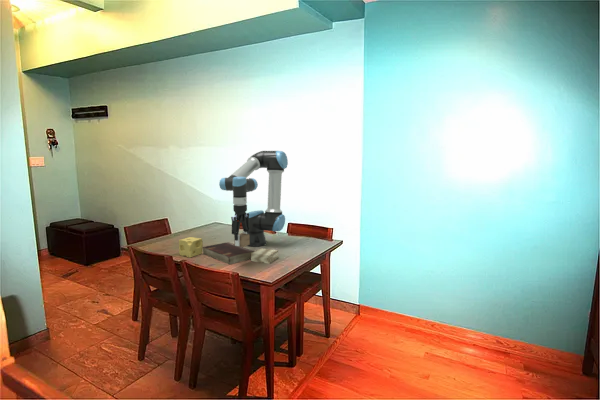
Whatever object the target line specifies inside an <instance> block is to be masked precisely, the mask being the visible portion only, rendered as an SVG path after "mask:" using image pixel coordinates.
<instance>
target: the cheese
mask: <svg viewBox="0 0 600 400" xmlns="http://www.w3.org/2000/svg"><path fill="white" fill-rule="evenodd" d="M203 243H204V242H203V238H201V237H200V238H199V237H193V236H188V237H186V238H185V237H184V238H181V239H178V252H179V255H180V256H182V257H187V258H188V259H189V258H190V259H191V258H193V257H195V256H199V255H202V254H203V247H204V244H203Z"/></svg>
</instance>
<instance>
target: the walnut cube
mask: <svg viewBox="0 0 600 400" xmlns="http://www.w3.org/2000/svg"><path fill="white" fill-rule="evenodd" d="M238 235H240V246H239V247H244V248H246V246H247V245H250V238H249V234H244V233H242V232H239V234H238ZM233 238H234V243H235V236H234V237H233ZM247 247H248V246H247Z"/></svg>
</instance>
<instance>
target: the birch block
mask: <svg viewBox="0 0 600 400" xmlns="http://www.w3.org/2000/svg"><path fill="white" fill-rule="evenodd" d="M254 251H255V252H253V253H251V259H250V261H251V262H255V263H262V262H264V263H263V264H271V263H273V262H274V261H275V259H276V258H277V259H279V250H278V249H271V248H270V249H268V248H258V249H256V250H254ZM277 259H276V260H277ZM273 260H274V261H273ZM270 262H271V263H270Z"/></svg>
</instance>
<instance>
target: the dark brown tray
mask: <svg viewBox="0 0 600 400" xmlns="http://www.w3.org/2000/svg"><path fill="white" fill-rule="evenodd" d="M255 251H256V250H252V249H250V248H247V247H239V246H235V243H231V242H222V243H216V244H210V245H206V246H203V249H202V254H203V255H205V256H208V257H210V258H213V259H215V260H217V261H220V262H222V263H224V264H227V265H233V264H237V263H240V262H245V261H249V260H251V253H253V252H255Z"/></svg>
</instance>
